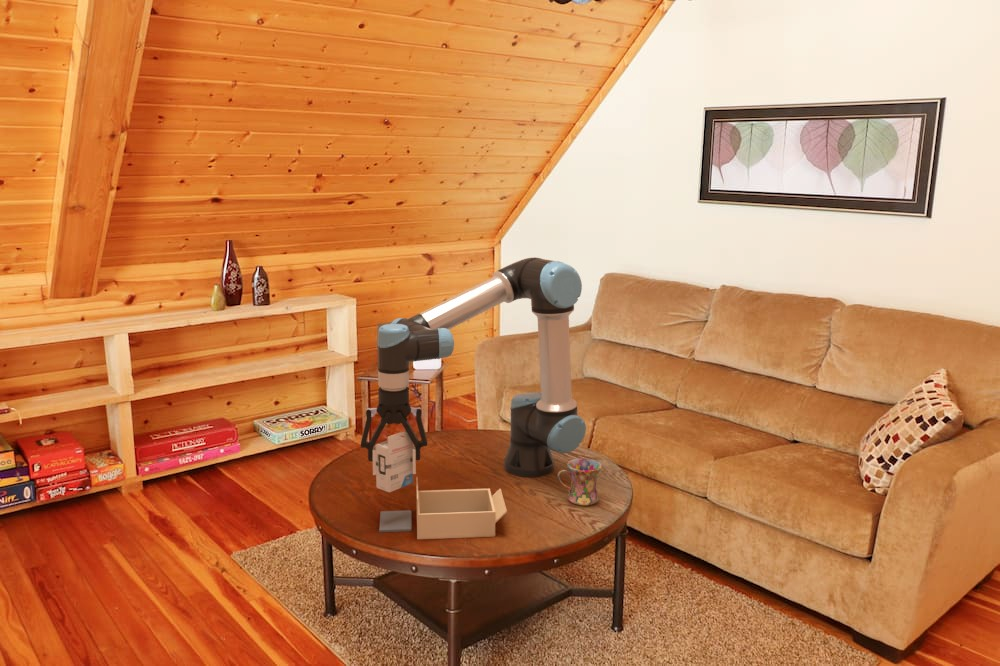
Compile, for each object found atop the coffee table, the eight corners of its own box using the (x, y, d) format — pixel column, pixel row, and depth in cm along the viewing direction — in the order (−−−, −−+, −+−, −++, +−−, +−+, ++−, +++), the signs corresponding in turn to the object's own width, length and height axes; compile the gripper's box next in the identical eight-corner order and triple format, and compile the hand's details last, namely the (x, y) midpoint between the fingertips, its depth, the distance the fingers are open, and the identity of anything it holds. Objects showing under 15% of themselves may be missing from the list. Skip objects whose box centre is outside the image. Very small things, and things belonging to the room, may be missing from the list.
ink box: (400, 478, 212) (399, 424, 209) (413, 483, 209) (413, 428, 206) (375, 487, 206) (374, 432, 203) (388, 493, 203) (388, 436, 199)
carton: (499, 506, 219) (499, 470, 217) (506, 535, 203) (507, 496, 201) (416, 509, 217) (416, 472, 215) (417, 539, 200) (416, 499, 198)
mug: (594, 493, 229) (596, 457, 227) (604, 507, 220) (605, 470, 218) (553, 495, 227) (554, 459, 225) (561, 509, 218) (562, 472, 216)
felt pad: (411, 512, 215) (411, 510, 215) (411, 531, 205) (411, 528, 205) (380, 513, 214) (380, 511, 214) (379, 532, 204) (379, 530, 204)
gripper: (437, 382, 207) (437, 465, 211) (349, 383, 204) (351, 467, 209) (438, 390, 199) (438, 477, 204) (347, 391, 197) (349, 479, 202)
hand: (394, 472), depth 207 cm, fingers closed on ink box, 9 cm apart
